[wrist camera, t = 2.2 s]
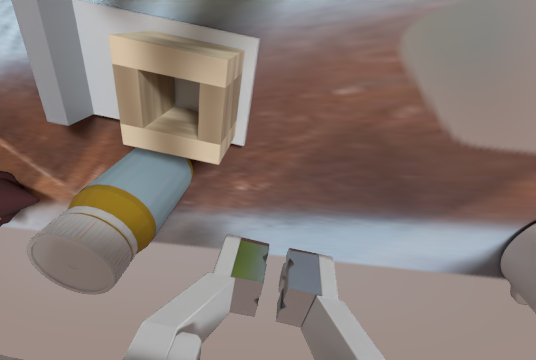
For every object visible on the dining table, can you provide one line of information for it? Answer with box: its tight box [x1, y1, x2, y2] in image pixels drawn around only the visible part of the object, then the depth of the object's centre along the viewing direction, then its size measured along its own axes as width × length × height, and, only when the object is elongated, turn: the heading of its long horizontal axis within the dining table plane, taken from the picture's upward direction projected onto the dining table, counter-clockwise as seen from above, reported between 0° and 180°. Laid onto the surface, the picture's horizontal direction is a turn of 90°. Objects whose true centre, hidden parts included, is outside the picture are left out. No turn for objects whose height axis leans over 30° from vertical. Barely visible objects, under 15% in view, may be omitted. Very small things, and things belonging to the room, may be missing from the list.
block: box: [108, 31, 245, 165], centre depth 22 cm, size 8×8×6 cm
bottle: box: [27, 147, 193, 294], centre depth 24 cm, size 7×7×15 cm
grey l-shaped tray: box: [11, 0, 260, 146], centre depth 23 cm, size 18×10×4 cm, turn 80°
